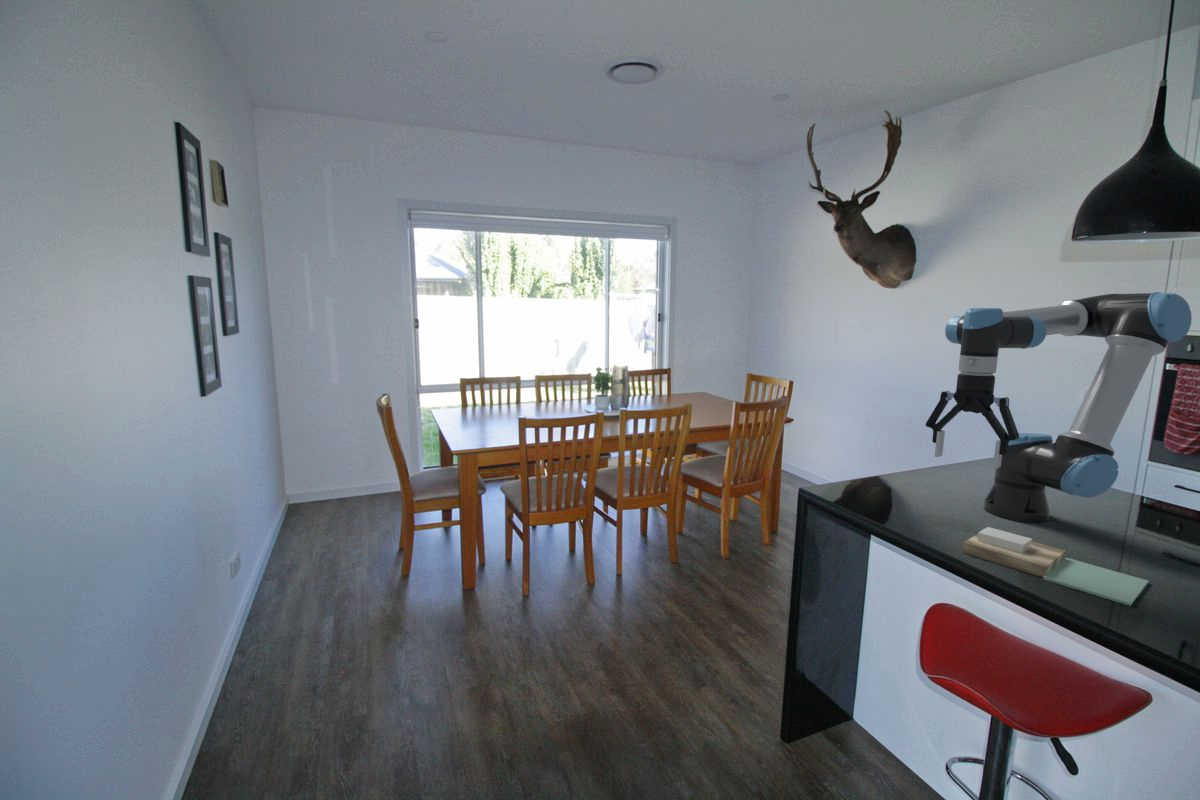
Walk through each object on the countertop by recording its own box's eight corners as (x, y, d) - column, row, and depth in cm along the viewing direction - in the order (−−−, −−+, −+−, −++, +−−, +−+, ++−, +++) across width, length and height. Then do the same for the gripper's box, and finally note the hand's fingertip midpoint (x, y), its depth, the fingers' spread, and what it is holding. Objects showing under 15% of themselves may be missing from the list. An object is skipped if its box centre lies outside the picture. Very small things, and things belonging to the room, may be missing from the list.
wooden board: (985, 538, 143) (986, 529, 143) (1064, 561, 131) (1065, 550, 130) (962, 552, 135) (963, 542, 134) (1044, 577, 122) (1045, 566, 122)
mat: (1065, 559, 131) (1065, 557, 131) (1148, 583, 120) (1148, 580, 120) (1042, 579, 122) (1043, 576, 122) (1130, 606, 111) (1130, 603, 111)
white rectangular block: (977, 540, 136) (978, 532, 135) (986, 534, 139) (987, 526, 139) (1022, 553, 129) (1023, 545, 128) (1031, 546, 132) (1032, 538, 132)
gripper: (916, 370, 142) (907, 453, 146) (1032, 380, 123) (1020, 475, 127) (929, 368, 147) (921, 449, 150) (1043, 377, 128) (1031, 470, 131)
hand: (966, 461), depth 139 cm, fingers open, 12 cm apart
